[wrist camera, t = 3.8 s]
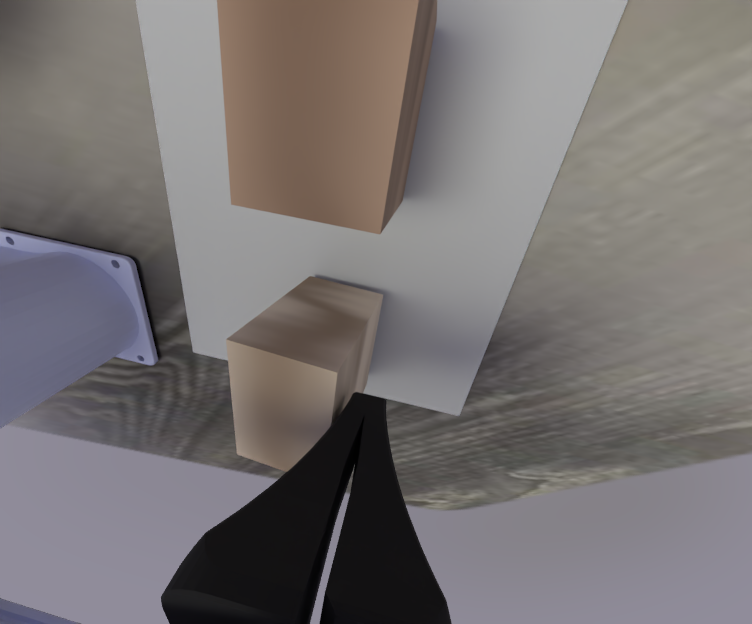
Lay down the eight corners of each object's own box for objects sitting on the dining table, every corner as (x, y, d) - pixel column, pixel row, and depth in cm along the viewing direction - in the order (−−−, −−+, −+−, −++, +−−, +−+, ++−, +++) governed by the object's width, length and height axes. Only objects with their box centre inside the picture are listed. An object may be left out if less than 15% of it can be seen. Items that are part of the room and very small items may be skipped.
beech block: (308, 360, 19) (236, 454, 13) (314, 272, 16) (225, 339, 10) (368, 378, 19) (323, 485, 12) (385, 290, 16) (337, 372, 10)
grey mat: (197, 348, 21) (193, 352, 20) (123, -130, 11) (112, -140, 10) (458, 411, 19) (458, 416, 19) (650, -67, 9) (658, -75, 9)
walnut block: (319, 183, 14) (231, 204, 8) (329, 11, 11) (205, -167, 5) (403, 199, 14) (380, 234, 8) (436, 27, 11) (441, -141, 5)
